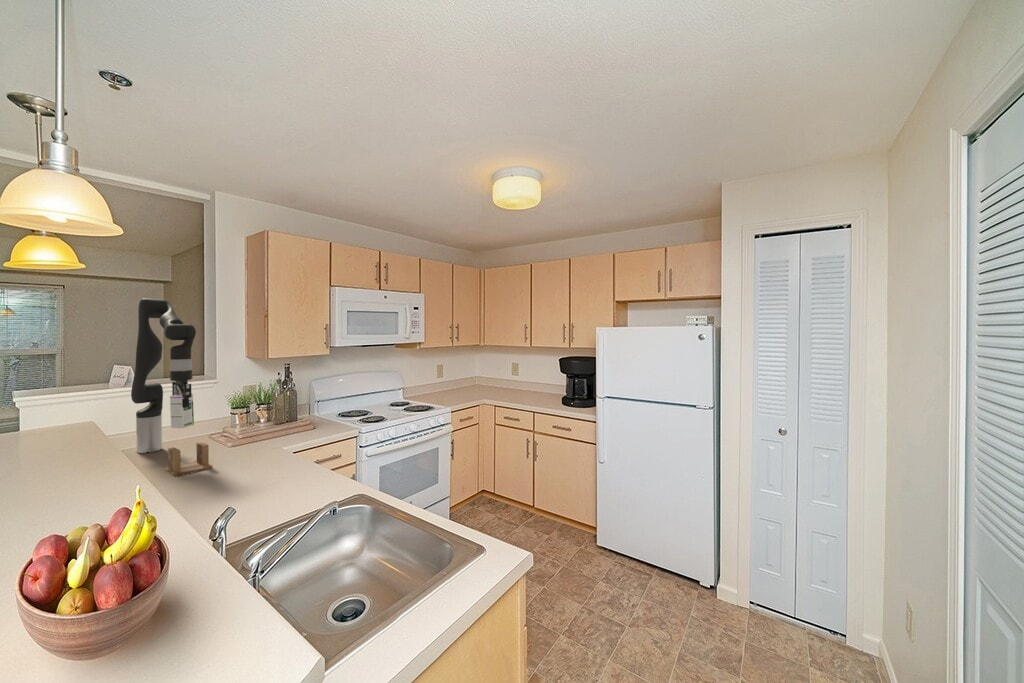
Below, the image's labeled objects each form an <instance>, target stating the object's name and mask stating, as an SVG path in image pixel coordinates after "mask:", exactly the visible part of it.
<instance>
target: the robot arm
mask: <svg viewBox="0 0 1024 683" xmlns="http://www.w3.org/2000/svg"><path fill="white" fill-rule="evenodd" d="M137 315H138V316H137V318H138V321H137V322H138V331H137V332H138V333H137V341H136V349H135V350H136V351H135V368H134V374H133V380H132V386H131V389H130V390H131V392H130V394H131V395H130V397H131V401H132V402H133V403H134V404H135V405H138V404H145V403H146V404H147V403H149V404H148V405H146V406H145V407H142V408H141V409H139V410H137V411H136V413H135V418H136V419H135V423H136V424H135V426H136V428H135V429H136V453H137V452H138V454H148V453H147V452H149V453H154V452H159V451H161V450H162V449H163V435H162V434H163V432H162V431H163V430H162V428H163V425H162V424H163V423H162V422H163V421H162V415H163V413H162V411H163V405H164V404H163V403H164V402H163V399H164V389H163V386H162V384H161V383H159V382H150V383H146V381H147V378H148V377H149V374H150V373H151V372H152V370H153V369H155V367H156V366H157V365H159V363H160V361H161V360H162V356H163V344H162V341H161V340H160V338H158V336H157V335H156V333H155V332H154V330H153V329H152V327H151V325H150V319H159V321H158V322H159V325H160V326H161V327H162V328H163V329H164V336H165V339H167V340H170V341H183V342H182V343H181V344H178V345H173V346H171V347H170V349H169V350H170V352H169V353H170V354H169V355H170V363H169V380H170V381H172V383H171V385H172V386H171V388H172V390H171V391H172V393H171V394H172V395H177V394H180V395H181V396H182V407H183V408H185V407H189V398H190V397H192V395H191V394H192V383H188V381H190V380H192V379H193V363H192V346H193V343H194V340H195V337H196V334H197V330H196V329H197V328H195V326H194V325H192V324H189V323H184V322H183V321H182V320H181V319H180V318H179V317H178V315H176V312H175V310H174V308H173V306H172V305H171V303H170V301H167V300H166V299H162V298H160V299H159V298H146V297H145V298H144V297H143V298H141V299H140V300H139V302H138V314H137ZM186 394H187V395H186ZM172 395H171V396H172ZM160 449H161V450H160Z"/></svg>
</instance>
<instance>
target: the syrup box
mask: <svg viewBox="0 0 1024 683" xmlns="http://www.w3.org/2000/svg"><path fill="white" fill-rule="evenodd" d="M193 394H194V393H191V395H192V397H190V398H189V407H185V408H183V407H182V396H181V395H180V394H177V395H169V406H170V407H169V410H170V413H169V414H170V427H171V429H184V428H188V427H190V426H194V425H195V419H194V412H195V411H194V395H193ZM186 395H187V394H186Z"/></svg>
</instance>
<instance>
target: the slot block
mask: <svg viewBox="0 0 1024 683" xmlns="http://www.w3.org/2000/svg"><path fill="white" fill-rule="evenodd" d="M195 446H196V447H195V448H196V461H191V462H186V463H183V464H181V460H182V459H181V450H180V449H179V448H176V447H174V446H173V447H169V448H167V453H168V454H167V455H168V456H167V459H168V460H167V462H168V463H167V467H166V468H164V472H166V471H167V472H166V473H168V472H169V473H168V474H169V475H171V474H172V476H173V475H174V476H173V477H175V478H176V476H177V477H180V475H181V476H184V475H183V474H185V475H188V474H187V473H189V474H192V473H191V472H193V473H196V472H195V471H197V472H200V471H199V470H201V471H204V470H203V469H206V470H208V468H210V469H213V465H212V464H210V463H209V461H210V459H209V458H210V457H209V456H210V455H209V444H208V443H205V442H203V441H201V442H196V445H195Z"/></svg>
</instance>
